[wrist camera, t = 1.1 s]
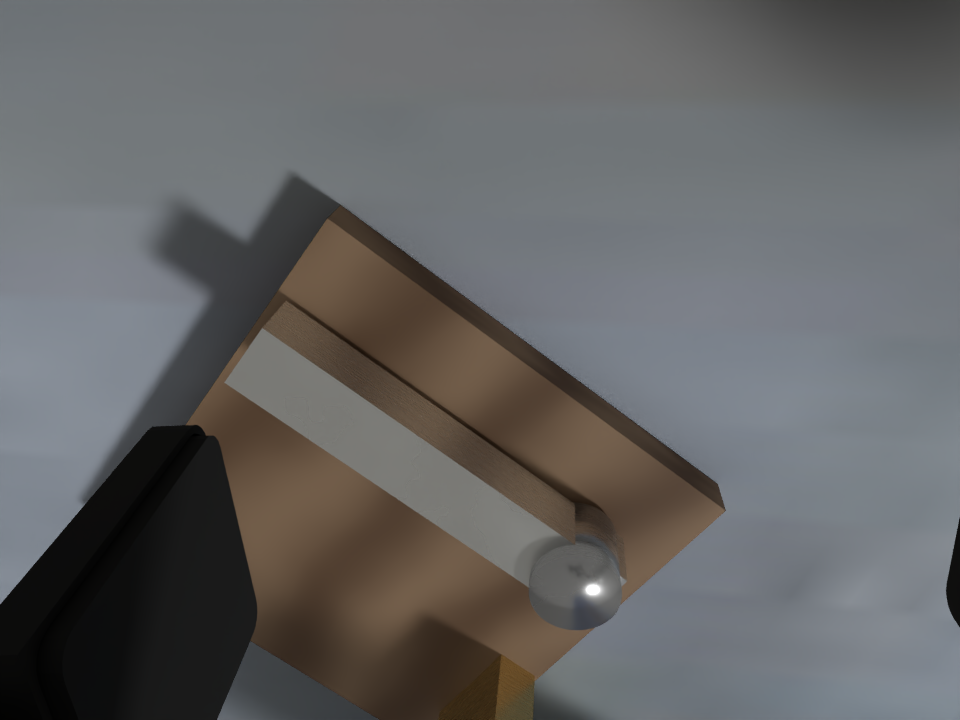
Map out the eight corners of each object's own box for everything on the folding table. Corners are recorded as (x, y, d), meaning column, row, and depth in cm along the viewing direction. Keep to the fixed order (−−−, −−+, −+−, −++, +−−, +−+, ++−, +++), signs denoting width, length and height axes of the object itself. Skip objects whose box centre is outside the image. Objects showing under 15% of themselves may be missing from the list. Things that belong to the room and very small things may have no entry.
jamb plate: (717, 484, 36) (725, 510, 35) (450, 728, 44) (445, 760, 42) (340, 205, 33) (327, 218, 31) (121, 523, 40) (100, 549, 39)
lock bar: (634, 534, 35) (641, 591, 32) (579, 585, 36) (580, 644, 33) (292, 292, 32) (261, 327, 29) (246, 358, 33) (211, 398, 30)
